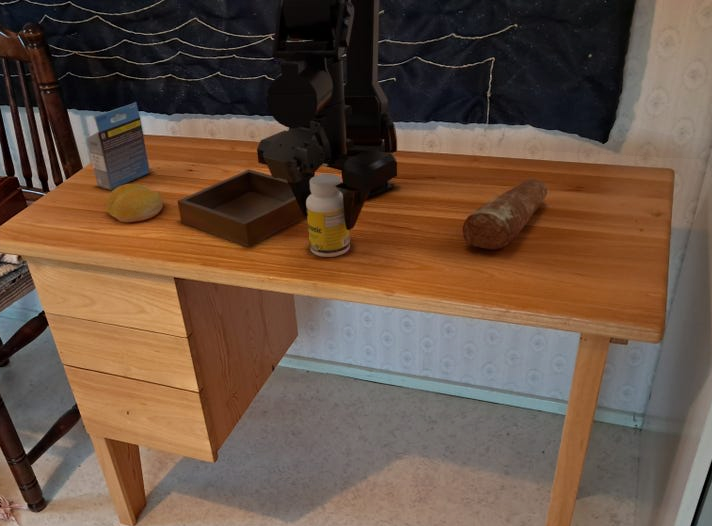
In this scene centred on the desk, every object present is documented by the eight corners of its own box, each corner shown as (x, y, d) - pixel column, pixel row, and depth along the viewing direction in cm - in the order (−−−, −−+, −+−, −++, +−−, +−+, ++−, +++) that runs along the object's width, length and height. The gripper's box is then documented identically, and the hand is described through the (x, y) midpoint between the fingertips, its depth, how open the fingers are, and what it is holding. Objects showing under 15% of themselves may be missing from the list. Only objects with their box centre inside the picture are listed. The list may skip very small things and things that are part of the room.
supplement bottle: (304, 245, 100) (298, 175, 95) (342, 237, 102) (338, 168, 96) (317, 261, 96) (311, 190, 91) (356, 253, 97) (353, 182, 92)
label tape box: (137, 169, 130) (121, 98, 123) (152, 173, 128) (137, 101, 121) (97, 186, 125) (78, 113, 118) (112, 191, 123) (94, 116, 116)
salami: (458, 251, 95) (460, 210, 92) (517, 198, 108) (521, 161, 104) (504, 261, 92) (507, 220, 89) (560, 205, 104) (565, 167, 101)
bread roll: (128, 229, 110) (122, 203, 107) (100, 213, 115) (94, 188, 113) (175, 211, 114) (170, 186, 111) (145, 196, 120) (140, 172, 117)
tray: (251, 190, 118) (248, 169, 116) (319, 210, 110) (317, 188, 108) (181, 222, 110) (177, 200, 108) (248, 247, 101) (245, 223, 99)
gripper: (217, 108, 89) (235, 227, 98) (335, 133, 78) (343, 265, 87) (282, 85, 95) (292, 199, 104) (399, 104, 84) (400, 230, 93)
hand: (328, 222), depth 97 cm, fingers open, 7 cm apart
